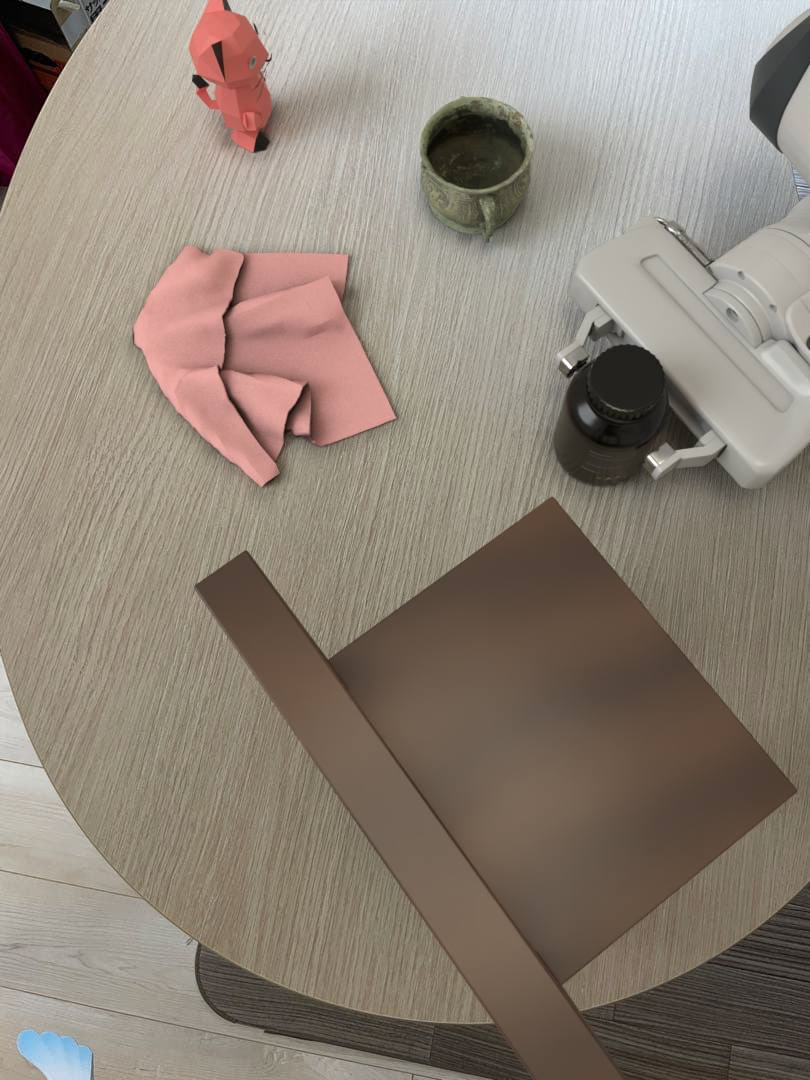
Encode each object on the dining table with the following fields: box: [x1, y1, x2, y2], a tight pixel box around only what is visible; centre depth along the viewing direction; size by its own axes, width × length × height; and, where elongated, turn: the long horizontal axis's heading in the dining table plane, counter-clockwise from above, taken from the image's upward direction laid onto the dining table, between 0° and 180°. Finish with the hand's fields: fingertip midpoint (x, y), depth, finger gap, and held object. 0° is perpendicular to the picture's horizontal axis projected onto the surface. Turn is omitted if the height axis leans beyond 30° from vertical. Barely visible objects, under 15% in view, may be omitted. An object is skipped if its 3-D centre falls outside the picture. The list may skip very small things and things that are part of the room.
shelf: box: [193, 496, 798, 1080], centre depth 43 cm, size 16×14×44 cm
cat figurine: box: [188, 0, 273, 154], centre depth 74 cm, size 7×7×12 cm
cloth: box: [131, 245, 397, 488], centre depth 72 cm, size 20×22×2 cm
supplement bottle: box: [553, 344, 670, 487], centre depth 65 cm, size 7×7×12 cm
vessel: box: [419, 95, 535, 244], centre depth 74 cm, size 12×9×6 cm
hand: (604, 417), depth 64 cm, fingers open, 8 cm apart
